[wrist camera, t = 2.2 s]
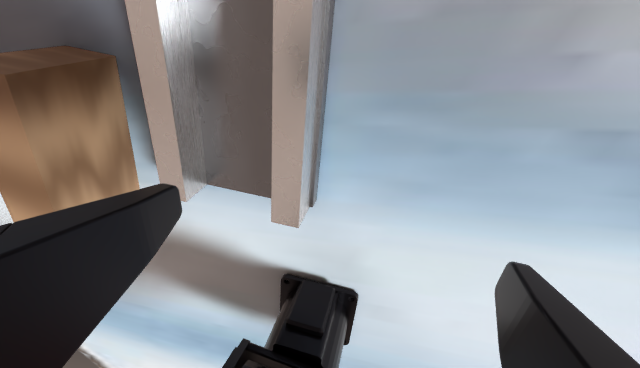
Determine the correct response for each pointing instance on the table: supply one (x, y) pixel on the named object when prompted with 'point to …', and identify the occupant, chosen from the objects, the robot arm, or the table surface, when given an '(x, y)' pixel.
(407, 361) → the table surface
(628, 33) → the table surface
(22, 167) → the tall wooden block
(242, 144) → the door track
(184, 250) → the table surface
